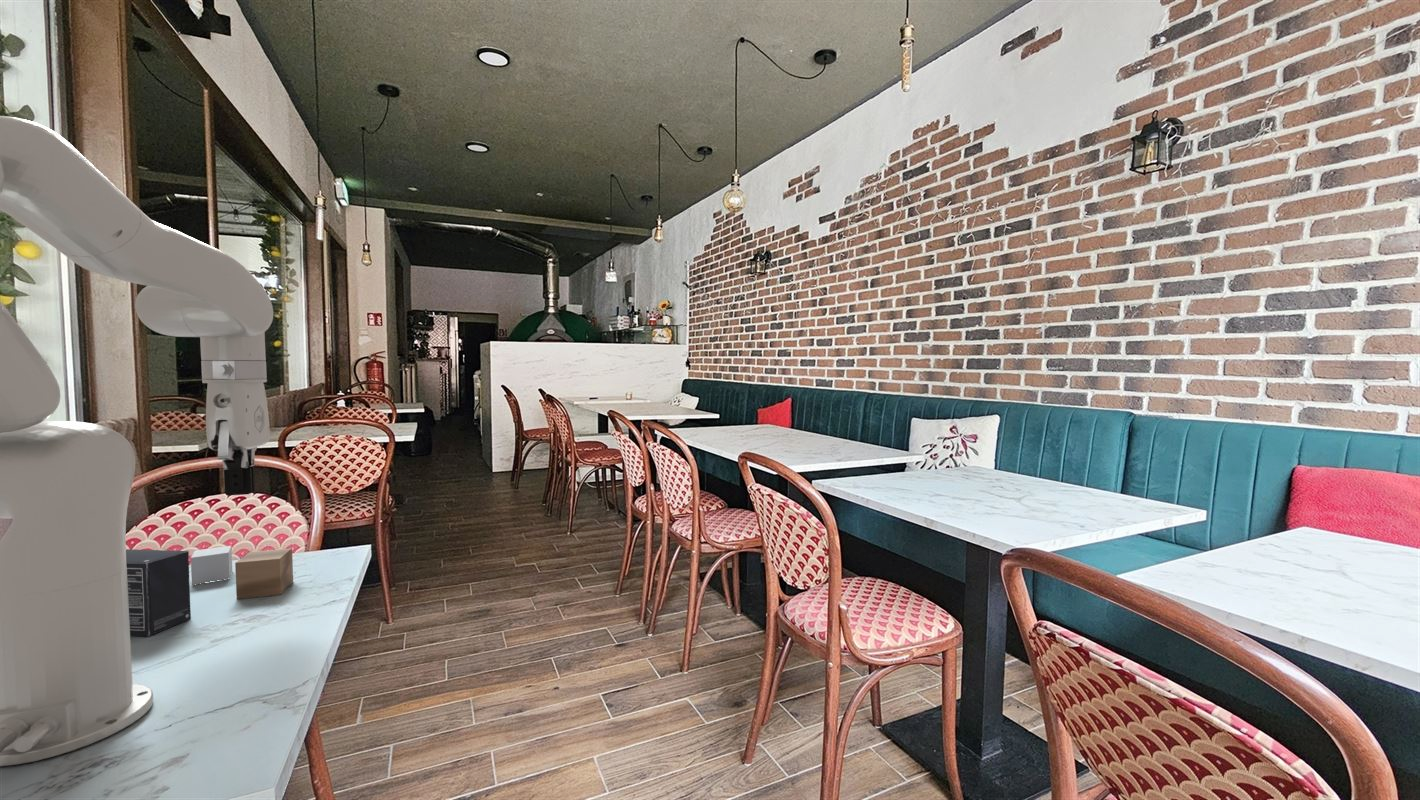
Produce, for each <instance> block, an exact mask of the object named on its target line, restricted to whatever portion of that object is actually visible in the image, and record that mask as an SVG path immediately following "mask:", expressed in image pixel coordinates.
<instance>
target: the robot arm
mask: <svg viewBox="0 0 1420 800" xmlns="http://www.w3.org/2000/svg"><path fill="white" fill-rule="evenodd" d="M0 212H2V213H4V214H6V215H8V216H10V217H11V218H12V219H14V220H15V221H17V222H18V223H20V225H23V226H24V227H25V228H26V229H28V230H30V231H31V232H33V234H35V235H37V237H40V238H41V240H43V241H44V242H46V243H47V244H49V245H51V246H52V247H53V248H55V249H56V250H57V251H58V252H60V253H61V254H62V255H63V256H65V257H66V258H68V259H69V260H71V261H72V262H73V263H75V264H76V265H77V266H79V267H81V268H82V269H84V270H86V271H89V272H92V273H95V274H99V275H102V276H105V277H108V278H112V279H116V280H119V281H124V282H128V283H131V284H137V285H142V286H145V287H144V288H142V289H141V290H140V292H139V293H138V294H137V296H136V298H135V302H134V304H135V305H134V307H135V312H136V315H137V316H138V318H139V320H140V322H142V324H144V325H145V326H146V328H149V329H150V330H152V331H153V332H155V333H158V334H160V335H164V336H168V337H169V336H170V337H176V338H177V337H178V338H179V337H181V338H199V339H200V343H199V345H200V358H201V361H200V363H201V364H200V365H201V379H202V380H201V381H202V384H207V385H206V386H207V389H206V400H205V401H206V402H205V403H206V404H205V405H206V406H205V426H206V427H205V430H206V441H207V445H208V448H209V449H211V450H212V451H217V459H218V460H219V461H222V468H223V471H224V472H223V473H224V494H225V495H226V496H228V497H229V496H241V495H242V496H243V495H250V494H252V493H254V492H255V491H256V480H255V479H256V478H255V477H256V476H255V464H256V463H255V461H256V460H255V459H256V457H255V456H256V455H255V452H256V451H257V449H258V447H260V446H263V445H266V444H268V442H270V440H271V428H270V426H271V425H270V419H269V406H268V399H267V393H266V389H265V384H264V383H267V382H268V379H267V378H268V376H267V375H268V374H267V361H266V360H267V359H266V338H265V337H266V336H265V335H266V334H265V332H266V331H267V330H269V328H270V327H271V325H272V323H273V320H274V308H273V304H272V301H271V299H270V297H269V295H268V293H267V291H266V290H265V289H264V287H263V286H262V284H261V283H260V282H259V281H258V280H257V278H256V277H254V275H253V274H251V272H250V271H249V270H248V269H247V268H246V267H245V266H243V265H242V263H240V262H239V261H238V260H236V259H235V258H233V257H232V256H231V255H228V254H227V253H225V252H224V251H221V250H220V249H218V248H215V247H213V246H211V245H209V244H207V243H204V242H203V241H200V240H198V239H196V238H194V237H192V236H189V235H188V234H185V233H183V232H182V231H179V230H177V229H173V228H171V227H169V226H167V225H164V224H162V223H159V222H158V221H155V220H153V219H151V218H150V217H149V216H148V215H146V213H144V212H143V210H142V209H140V208H139V207H138V206H137V205H136V204H135V203H134V202H133V201H132V200H131V199H130V198H128V196H126V194H124V193H123V192H122V191H121V190H120V189H119V188H118V187H117V186H116V185H114V184H113V182H111V180H109V179H108V177H106V176H105V175H104V174H103V173H102V171H100V170H99V169H98V168H96V167H95V166H94V165H93V163H91V162H90V160H88V159H87V158H86V157H85V156H84V155H83V154H82V153H81V152H80V151H79V150H78V149H77V148H75V146H73V145H72V144H71V143H70V142H69V141H68V140H67V139H65V138H64V137H63V136H61V135H60V134H59V133H57V132H55V131H54V130H52V129H51V128H49V127H46V126H45V125H42V124H41V123H40V124H39V123H38V122H35V121H31V120H27V119H24V118H20V117H13V116H7V115H0ZM60 403H61V389H60V385H59V383H58V380H57V378H56V376H55V374H54V372H53V371H52V370H51V367H50V366H49V365H48V363H47V361H46V360H45V359H44V357H43V356H42V355H41V353H40V352H39V351H38V349H37V348H36V346H35V345H34V344H33V342H32V341H31V339H30V338H29V337H28V335H27V333H25V332H24V330H23V329H22V328H21V326H20V325H19V324H18V322H17V321H16V319H15V318H14V316H13V315H12V314H11V313H10V311H9V310H8V309H7V307H6V306H5V304H4V303H3V301H2V300H1V299H0V519H5V520H6V519H11V520H12V521H11V524H10V526H9V528H8V529H7V531H6V532H5V533H4V534H3V536H2V538H1V539H0V767H6V766H16V765H21V764H26V763H27V764H28V763H31V762H32V763H33V762H37V761H38V762H39V761H41V760H45V759H49V758H53V757H57V756H60V755H62V754H63V755H64V754H65V753H69V752H73V751H75V750H78V749H81V748H85V747H87V746H90V745H92V744H94V743H96V742H98V741H101V740H103V739H105V738H108V737H110V736H112V735H114V734H116V733H118V732H120V731H121V730H124V729H125V728H127V727H129V726H130V725H132V724H134V723H135V722H136V721H137V720H139V719H140V718H141V717H143V716H144V715H145V714H147V712H148V711H149V710H150V709H151V707H152V706H153V704H154V693H153V690H152V689H151V688H150V687H148V686H146V685H142V684H137V683H133V666H132V647H131V645H132V644H131V636H130V622H129V601H128V580H127V565H126V550H127V547H126V546H127V544H126V543H127V540H126V538H127V536H126V531H127V529H126V528H127V515H128V507H129V501H130V495H131V492H132V491H131V490H132V488H133V487H132V486H133V482H134V479H135V472H136V455H135V451H134V448H133V446H132V444H131V443H130V441H128V439H127V438H126V437H125V436H124V435H123V434H121V433H120V432H118V431H116V430H114V429H112V428H110V427H107V426H106V425H105V426H104V425H101V424H98V423H91V422H84V421H77V420H75V421H73V420H48V419H49V418H50V417H51V416H52V415H53V414H54V412H56V410H57V409H58V407H59V405H60Z"/></svg>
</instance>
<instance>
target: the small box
mask: <svg viewBox="0 0 1420 800" xmlns="http://www.w3.org/2000/svg"><path fill="white" fill-rule="evenodd" d="M189 554H190V551H189V550H167V549H166V550H165V549H161V550H160V549H129V548H126V565H127V580H128V601H129V622H130V637H144V636H145V637H146V638H147V637H151V636H153V635H155V634H158V633H161V632H162V631H165V630H168V629H170V628H173V627H175V626H177V625H179V624H182V623H184V622H187V621H189V620H191V619H192V616H191V615H192V613H191V594H190V593H191V591H190V590H191V589H190V588H191V587H190V563H189V561H190V558H189V557H190V555H189Z"/></svg>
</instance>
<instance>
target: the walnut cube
mask: <svg viewBox="0 0 1420 800" xmlns="http://www.w3.org/2000/svg"><path fill="white" fill-rule="evenodd" d="M293 563H294V562H293V548H292V547H291V548H290V547H289V548H280V549H279V548H277V549H267V550H257V551H249V552H248V553H246V554H245V555H244V556H241V558H240V559H238V560H237V561H235V563H234V565H235V587H236V588H235V590H236V592H235V593H236V600H242V599H243V600H244V599H253V598H263V597H270V596H271V595H272V596H280V594H281V595H282V594H283V593H284V592H285V591H286V590H287V589H288V588H289V587H290V586H291V585H292V584H293V583H294V568H293V566H294V565H293ZM292 582H293V583H292ZM291 583H292V584H291ZM290 584H291V585H290ZM289 585H290V586H289ZM288 586H289V587H288ZM286 588H287V589H286Z"/></svg>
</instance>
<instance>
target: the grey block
mask: <svg viewBox="0 0 1420 800" xmlns="http://www.w3.org/2000/svg"><path fill="white" fill-rule="evenodd" d="M232 547H233V546H232V545H227V546H219V547H211V548H210V547H209V548H205V549H204V548H203V549H196V550H194V552H193V553H192V555H191V556H190V570H191V571H190V572H191V586H192V585H195V584H200V583H205V582H210V581H217V580H224V579H228V578H230V576H231V577H232V575H231V573H232V574H233V554H232V553H233V549H232ZM230 579H231V578H230ZM195 586H196V585H195Z"/></svg>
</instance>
